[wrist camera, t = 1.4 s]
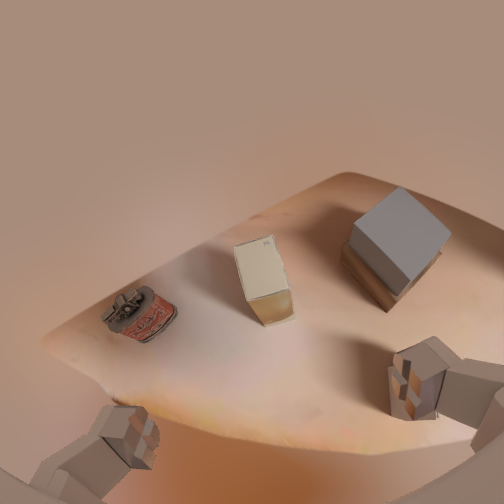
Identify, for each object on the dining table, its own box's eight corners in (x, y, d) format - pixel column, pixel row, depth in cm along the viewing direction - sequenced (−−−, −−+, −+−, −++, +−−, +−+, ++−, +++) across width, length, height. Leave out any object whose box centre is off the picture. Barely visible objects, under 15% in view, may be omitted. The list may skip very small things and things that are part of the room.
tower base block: (384, 224, 38) (391, 204, 34) (428, 268, 34) (441, 253, 29) (339, 261, 37) (343, 244, 33) (386, 313, 32) (397, 301, 28)
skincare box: (253, 286, 38) (230, 243, 27) (283, 277, 38) (272, 230, 27) (264, 330, 35) (244, 302, 24) (296, 320, 34) (291, 288, 24)
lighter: (170, 299, 39) (134, 272, 31) (181, 315, 38) (146, 291, 29) (133, 331, 38) (92, 312, 29) (143, 348, 36) (101, 332, 28)
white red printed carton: (391, 416, 26) (420, 424, 17) (387, 367, 29) (415, 358, 20) (416, 409, 25) (452, 413, 16) (412, 361, 28) (446, 349, 20)
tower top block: (391, 209, 34) (399, 185, 29) (437, 253, 29) (452, 233, 25) (348, 245, 33) (353, 222, 28) (397, 296, 28) (410, 280, 24)
